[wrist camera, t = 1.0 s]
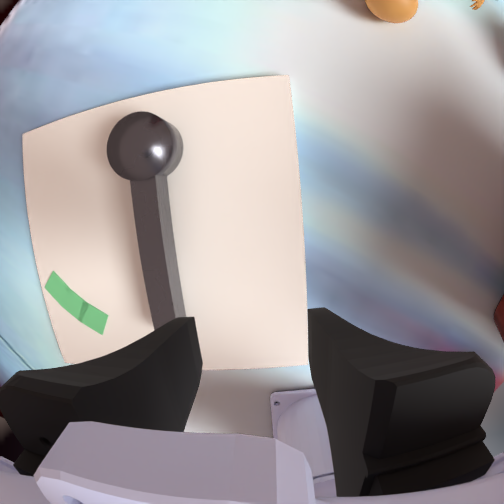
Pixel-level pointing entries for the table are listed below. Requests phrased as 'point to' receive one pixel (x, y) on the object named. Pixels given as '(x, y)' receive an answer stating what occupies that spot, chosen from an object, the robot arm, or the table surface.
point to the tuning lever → (151, 204)
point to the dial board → (177, 226)
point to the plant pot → (500, 317)
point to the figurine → (399, 9)
